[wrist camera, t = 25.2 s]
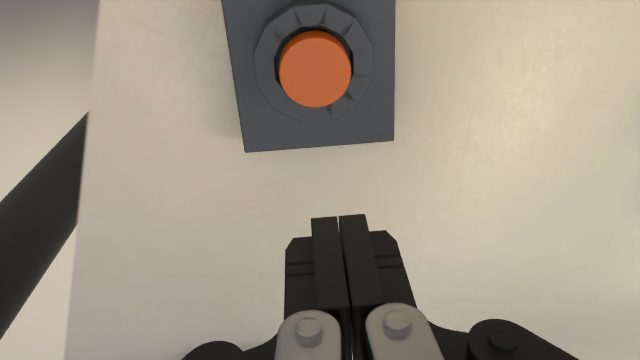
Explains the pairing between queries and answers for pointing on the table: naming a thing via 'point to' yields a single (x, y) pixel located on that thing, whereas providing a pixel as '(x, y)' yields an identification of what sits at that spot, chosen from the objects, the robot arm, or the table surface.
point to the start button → (314, 69)
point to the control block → (264, 83)
